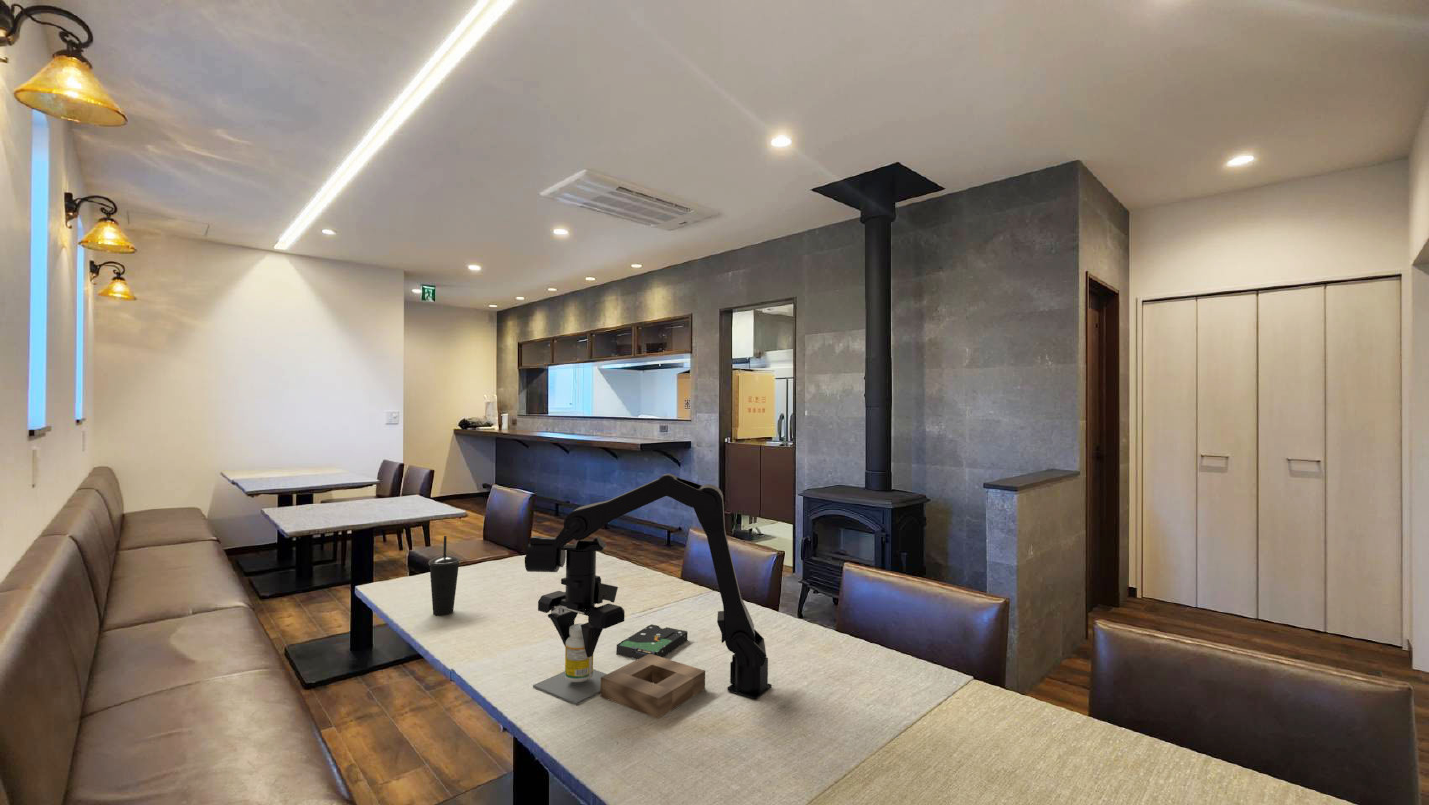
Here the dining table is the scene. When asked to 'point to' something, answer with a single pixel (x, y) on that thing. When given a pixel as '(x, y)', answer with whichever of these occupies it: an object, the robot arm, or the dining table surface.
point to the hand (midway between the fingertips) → (579, 653)
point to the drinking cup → (443, 582)
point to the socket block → (652, 685)
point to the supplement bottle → (577, 657)
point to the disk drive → (652, 642)
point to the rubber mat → (571, 687)
